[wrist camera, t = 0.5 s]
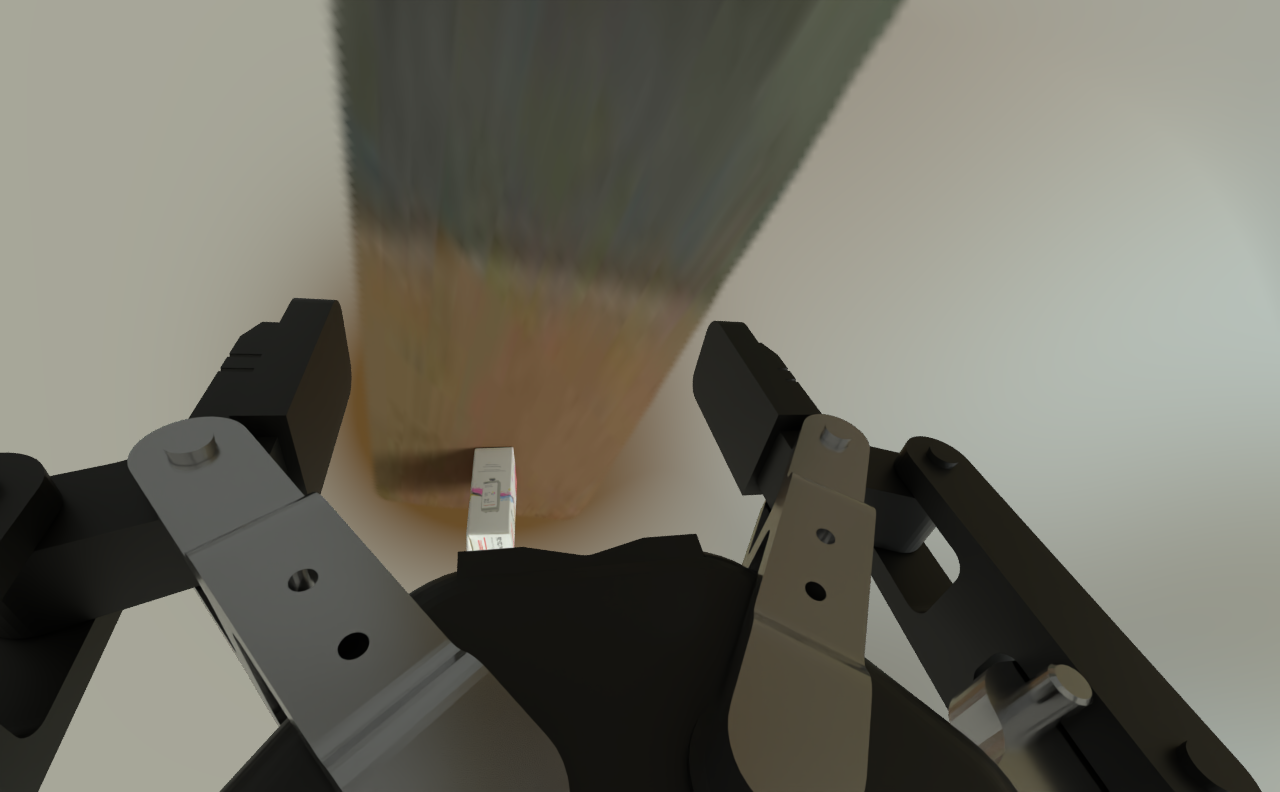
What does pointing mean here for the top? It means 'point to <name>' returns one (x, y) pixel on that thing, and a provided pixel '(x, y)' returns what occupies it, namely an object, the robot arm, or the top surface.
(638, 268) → the top surface
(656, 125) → the top surface
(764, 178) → the top surface
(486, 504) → the ink cartridge box
